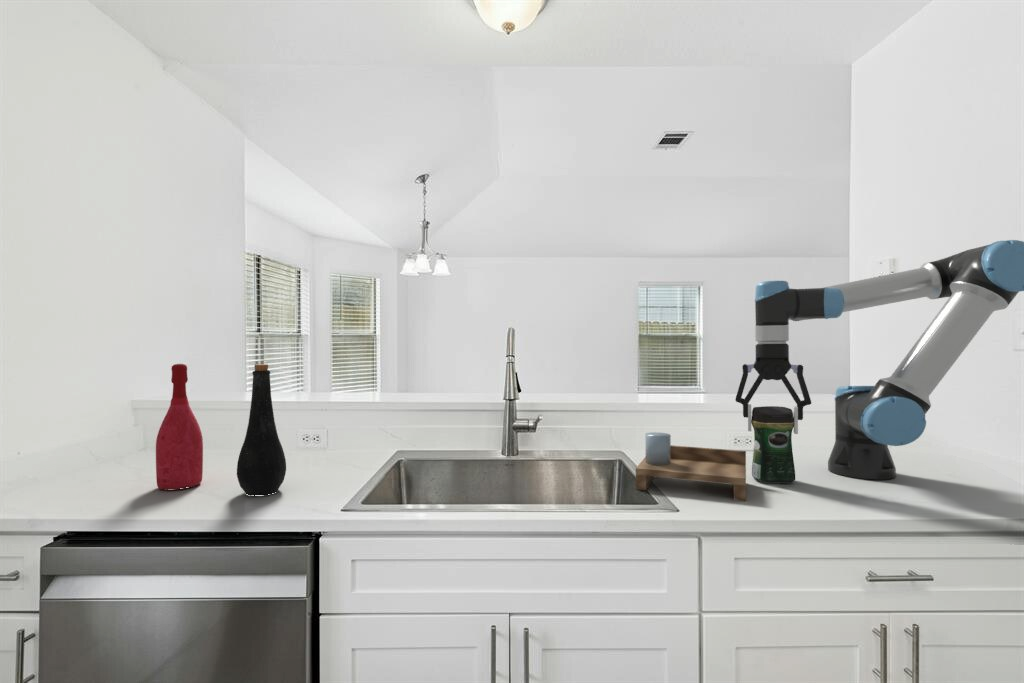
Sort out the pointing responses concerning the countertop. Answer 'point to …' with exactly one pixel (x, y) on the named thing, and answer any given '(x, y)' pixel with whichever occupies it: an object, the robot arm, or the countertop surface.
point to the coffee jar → (773, 444)
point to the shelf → (699, 468)
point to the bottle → (261, 442)
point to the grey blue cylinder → (658, 448)
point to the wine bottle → (179, 440)
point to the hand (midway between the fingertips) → (772, 431)
